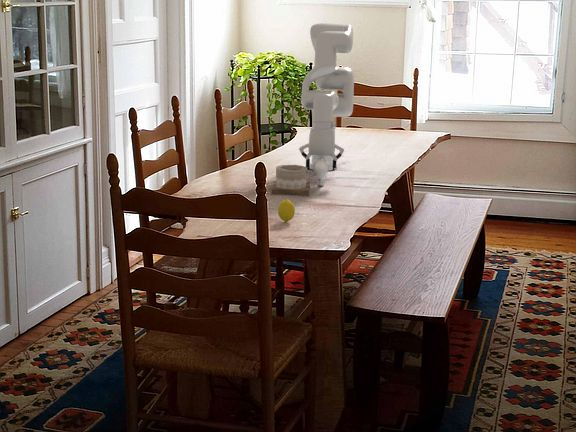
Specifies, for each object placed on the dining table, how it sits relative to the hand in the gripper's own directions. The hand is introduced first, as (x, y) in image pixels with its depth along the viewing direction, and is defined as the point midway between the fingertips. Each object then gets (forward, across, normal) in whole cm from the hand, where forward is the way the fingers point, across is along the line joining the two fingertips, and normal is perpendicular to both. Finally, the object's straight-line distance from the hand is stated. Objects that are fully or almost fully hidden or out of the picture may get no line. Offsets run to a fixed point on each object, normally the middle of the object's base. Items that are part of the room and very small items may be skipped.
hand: (320, 169), depth 358 cm
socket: (+7, +11, +9) cm, 16 cm away
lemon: (+8, +10, +54) cm, 56 cm away
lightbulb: (+7, 0, -1) cm, 7 cm away
